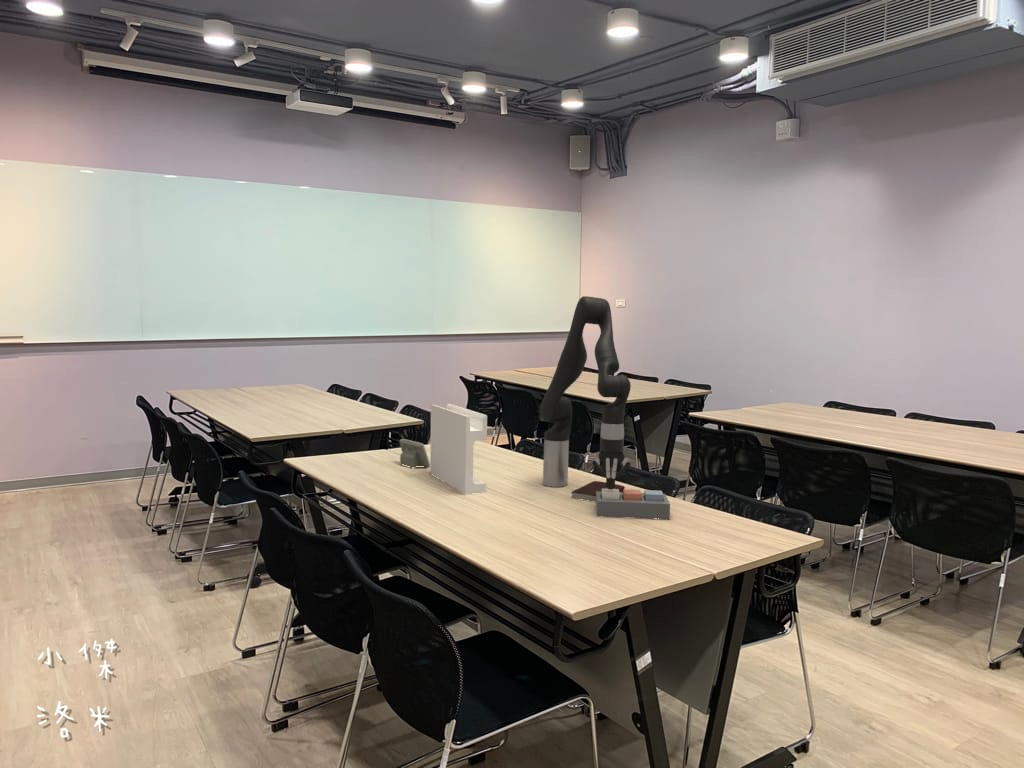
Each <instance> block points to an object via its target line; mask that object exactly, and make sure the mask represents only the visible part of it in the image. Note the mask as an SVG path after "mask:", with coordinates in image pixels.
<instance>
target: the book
mask: <svg viewBox="0 0 1024 768" xmlns="http://www.w3.org/2000/svg"><path fill="white" fill-rule="evenodd" d="M602 489H608V488H607V487H606V481H599V480H594V481H591V482H589V483H587V484H584V485H582V486H581V487H578V488H576V489H574V490H572V491H571V492H570V494H571V497H572V498H577V499H576V500H578V499H583V500H582V501H584V500H589V501H588V502H590V501H595V502H594V503H596V491H599V492H602ZM613 489H619V492H623V489H625V486H624V485H621V484H616V483H615V487H614V488H613Z"/></svg>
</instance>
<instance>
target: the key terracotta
mask: <svg viewBox="0 0 1024 768" xmlns="http://www.w3.org/2000/svg"><path fill="white" fill-rule="evenodd" d="M641 491H642V490H641V489H625V488H624V489H623V500H641V496H642V494H641V493H642V492H641Z"/></svg>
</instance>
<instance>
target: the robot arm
mask: <svg viewBox="0 0 1024 768" xmlns="http://www.w3.org/2000/svg"><path fill="white" fill-rule="evenodd" d="M573 313H574V314H573V316H572V320H571V325H570V329H569V332H568V334H567V338H566V341H565V344H564V346H563V348H562V349H563V350H562V352H561V354H560V357H559V360H558V361H557V362H558V363H557V366H556V369H555V372H554V374H553V377H552V379H551V382H550V384H549V386H548V388H547V390H546V392H545V395H544V396H543V399H542V401H541V403H540V408H539V409H540V410H539V414H540V417H541V419H542V420H543V421H544V422H546V423H554V424H553V426H552V427H551V428H549V429H547V430H545V432H544V435H543V437H544V438H543V439H544V441H543V445H544V446H543V467H542V486H545V485H546V486H547V487H551V486H552V487H551V488H553V487H554V488H562V487H561V486H563V487H566V485H567V486H568V484H569V451H570V450H569V447H570V445H569V443H570V434H571V431H572V421H573V418H572V417H573V405H572V402H571V399H570V398H569V397H567V396H564V393H566V391H567V390H568V389H569V388H570V387H571V386H572V385H573V384H574V383H575V382H576V381H577V380H578V379H579V377H580V376H581V375H582V373H583V371H584V367H585V366H586V363H587V359H588V353H587V348H586V345H585V341H584V337H583V334H584V329H585V326H586V324H588V325H589V324H590V325H596V326H597V325H598V327H599V330H600V335H599V337H598V339H597V342H596V344H595V347H594V356H595V361H596V365H597V371H598V372H597V373H598V374H597V387H596V388H597V391H598V394H599V396H601V397H603V398H615V399H614V401H613V402H611V403H608V404H604V405H603V406H602V411H601V426H600V434H599V435H600V441H599V444H600V445H599V446H600V447H599V453H598V456H597V457H596V458H594V459H592V461H591V463H592V465H593V466H594V468H595V469H596V470H597V472H598V473H599V474H600V476H602V477H604V478H606V479H605V482H606V487H607V488H608V489H611V490H613V488H614V487H615V484H616V479H617V478H620V477H622V476H623V474H624V473H625V472H626V471H627V469H628V468H629V467H630V466H631V461H630V460H627V459H626V458H625V457H626V456H625V454H624V445H625V444H624V442H625V441H624V440H625V438H624V437H625V427H624V423H625V421H624V420H625V418H624V417H625V409H626V405H627V401H628V398H629V395H630V392H631V386H632V385H631V381H630V379H629V378H628V377H627V376H625V375H613V374H615V373H617V372H618V371H619V369H620V362H619V357H618V355H617V351H616V348H615V347H616V346H615V342H614V330H613V319H612V311H611V305H610V303H609V301H608V300H607V299H605V298H602V297H594V296H588V295H584V296H581V297H580V298H579V299H578V301H577V304H576V306H575V308H574V312H573ZM600 463H602V465H603V467H605V470H603V468H602V467H601V466H600ZM621 464H622V467H621V468H619V470H618V471H617V468H618V467H620V466H621Z"/></svg>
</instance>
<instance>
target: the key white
mask: <svg viewBox="0 0 1024 768" xmlns="http://www.w3.org/2000/svg"><path fill="white" fill-rule="evenodd" d="M619 498H620V493H619V489H613V490H611V489H602V495H601V499H618V500H619Z"/></svg>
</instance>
